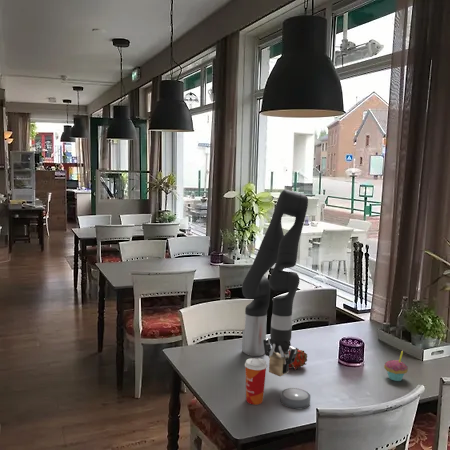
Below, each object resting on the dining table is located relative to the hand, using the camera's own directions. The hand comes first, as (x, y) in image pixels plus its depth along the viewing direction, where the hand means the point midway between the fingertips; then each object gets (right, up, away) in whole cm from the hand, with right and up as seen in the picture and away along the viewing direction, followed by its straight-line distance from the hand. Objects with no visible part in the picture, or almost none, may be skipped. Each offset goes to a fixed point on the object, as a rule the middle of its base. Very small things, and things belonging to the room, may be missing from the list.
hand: (278, 370), depth 179 cm
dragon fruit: (+8, -5, +18) cm, 20 cm away
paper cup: (-9, -8, -11) cm, 16 cm away
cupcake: (+46, -7, +11) cm, 48 cm away
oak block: (0, -1, 0) cm, 1 cm away
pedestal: (+5, -8, -10) cm, 14 cm away
